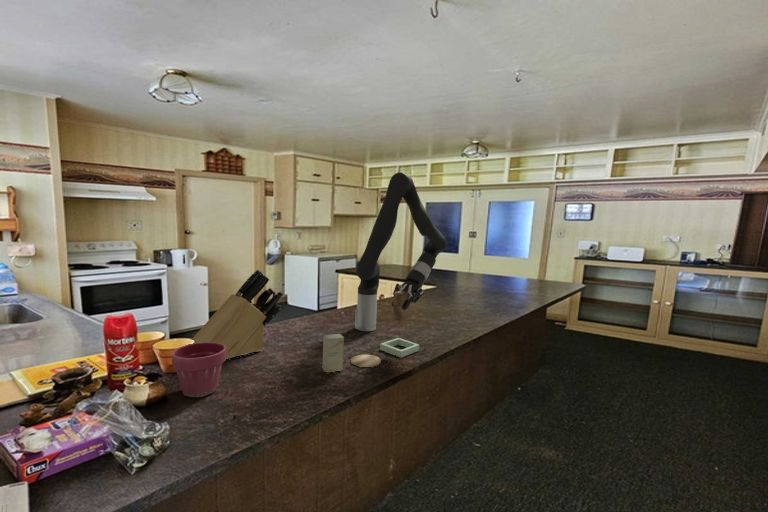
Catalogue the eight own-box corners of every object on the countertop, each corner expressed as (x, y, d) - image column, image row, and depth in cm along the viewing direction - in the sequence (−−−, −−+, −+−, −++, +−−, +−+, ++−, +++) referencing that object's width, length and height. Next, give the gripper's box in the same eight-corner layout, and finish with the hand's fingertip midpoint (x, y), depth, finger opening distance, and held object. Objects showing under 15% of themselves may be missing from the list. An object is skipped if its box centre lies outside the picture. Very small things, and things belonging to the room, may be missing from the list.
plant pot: (207, 376, 119) (207, 338, 118) (236, 388, 112) (236, 347, 111) (162, 393, 107) (161, 351, 105) (191, 408, 100) (190, 362, 98)
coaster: (345, 364, 133) (345, 362, 133) (359, 354, 143) (359, 352, 143) (373, 370, 129) (373, 368, 129) (385, 359, 139) (385, 357, 139)
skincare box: (326, 374, 124) (326, 339, 123) (322, 369, 128) (322, 335, 127) (343, 371, 127) (344, 337, 126) (339, 366, 131) (339, 333, 130)
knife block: (284, 346, 148) (285, 270, 145) (191, 371, 123) (190, 279, 119) (270, 339, 156) (270, 267, 153) (179, 361, 130) (178, 274, 127)
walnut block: (392, 319, 147) (394, 292, 146) (400, 317, 151) (401, 290, 149) (401, 321, 144) (402, 294, 143) (408, 319, 148) (409, 292, 146)
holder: (380, 349, 149) (380, 343, 148) (398, 343, 157) (398, 337, 157) (401, 357, 141) (401, 351, 141) (419, 350, 149) (419, 344, 149)
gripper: (401, 266, 155) (380, 298, 148) (428, 271, 146) (408, 305, 138) (408, 277, 160) (389, 309, 152) (436, 282, 150) (416, 317, 143)
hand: (398, 307), depth 145 cm, fingers closed on walnut block, 4 cm apart
